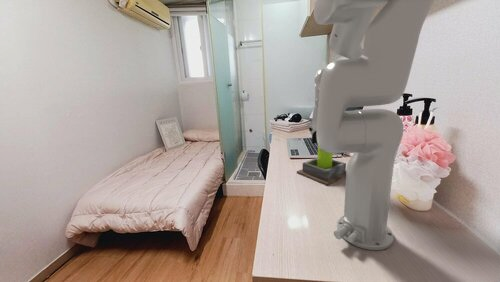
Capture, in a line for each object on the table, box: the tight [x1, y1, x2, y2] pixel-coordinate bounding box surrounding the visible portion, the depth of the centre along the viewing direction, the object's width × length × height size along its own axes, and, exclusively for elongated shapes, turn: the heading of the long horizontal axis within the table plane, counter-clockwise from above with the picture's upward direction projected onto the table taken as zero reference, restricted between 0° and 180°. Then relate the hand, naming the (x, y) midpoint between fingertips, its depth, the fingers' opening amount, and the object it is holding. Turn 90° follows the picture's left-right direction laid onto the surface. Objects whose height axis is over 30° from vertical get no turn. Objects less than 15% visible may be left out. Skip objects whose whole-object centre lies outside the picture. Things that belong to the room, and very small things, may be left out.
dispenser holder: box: [296, 157, 347, 186], centre depth 88 cm, size 16×16×5 cm
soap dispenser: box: [317, 145, 334, 170], centre depth 86 cm, size 6×7×20 cm
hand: (324, 145), depth 85 cm, fingers open, 9 cm apart
